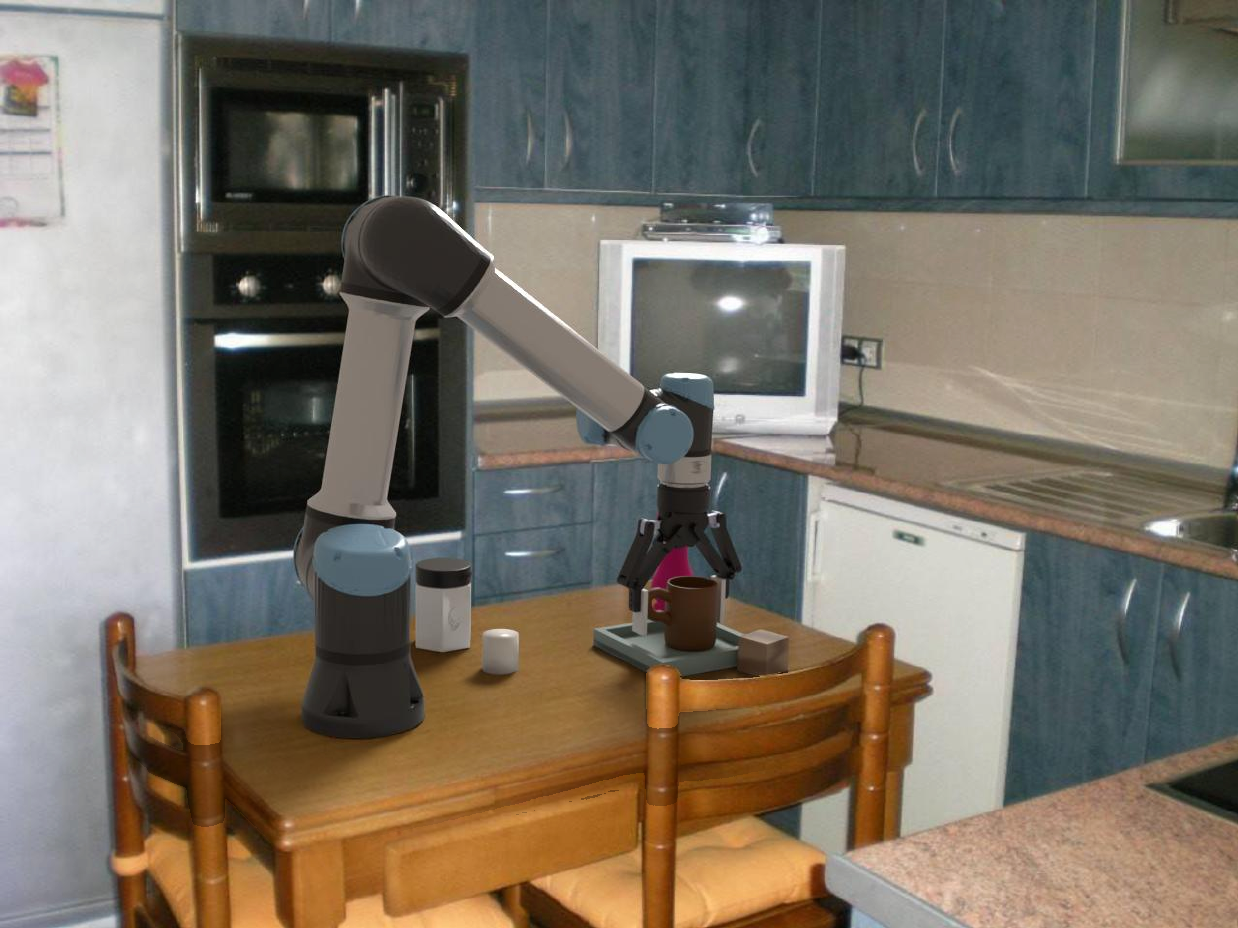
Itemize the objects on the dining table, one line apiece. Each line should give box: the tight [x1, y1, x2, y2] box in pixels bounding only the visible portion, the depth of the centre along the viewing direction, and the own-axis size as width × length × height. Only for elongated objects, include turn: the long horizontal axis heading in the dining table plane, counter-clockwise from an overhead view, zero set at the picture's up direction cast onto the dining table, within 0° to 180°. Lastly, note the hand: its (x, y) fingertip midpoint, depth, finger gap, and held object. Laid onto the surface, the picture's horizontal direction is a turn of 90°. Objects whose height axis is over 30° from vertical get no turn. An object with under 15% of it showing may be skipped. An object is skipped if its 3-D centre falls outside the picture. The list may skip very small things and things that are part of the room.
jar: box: [414, 557, 473, 653], centre depth 210 cm, size 9×8×12 cm
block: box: [736, 628, 790, 677], centre depth 202 cm, size 5×5×5 cm
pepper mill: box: [650, 511, 694, 611], centre depth 226 cm, size 7×7×20 cm
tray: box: [592, 619, 744, 678], centre depth 209 cm, size 18×18×2 cm
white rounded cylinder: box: [481, 628, 520, 675], centre depth 200 cm, size 5×5×5 cm
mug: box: [647, 575, 718, 651], centre depth 208 cm, size 12×8×9 cm, turn 117°
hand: (678, 626), depth 208 cm, fingers open, 13 cm apart
